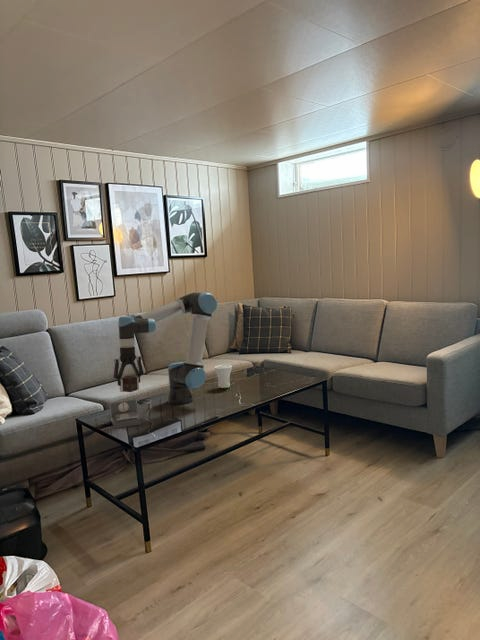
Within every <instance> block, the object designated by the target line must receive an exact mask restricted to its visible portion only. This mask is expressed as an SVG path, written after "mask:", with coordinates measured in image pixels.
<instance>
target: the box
mask: <svg viewBox="0 0 480 640" xmlns="http://www.w3.org/2000/svg"><path fill="white" fill-rule="evenodd" d="M121 379H122V380H123V392H124V393H132V392H135V391H138V389H137V375H125V376H122V377H121ZM123 392H122V393H123Z"/></svg>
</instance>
